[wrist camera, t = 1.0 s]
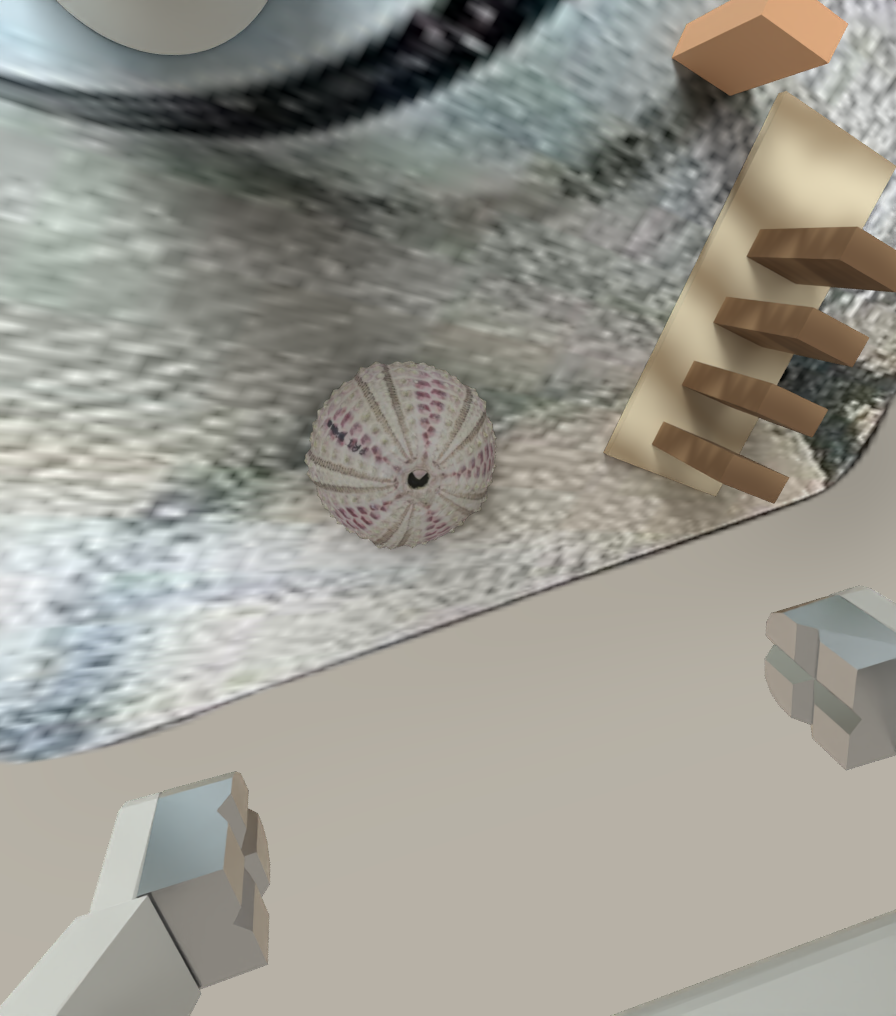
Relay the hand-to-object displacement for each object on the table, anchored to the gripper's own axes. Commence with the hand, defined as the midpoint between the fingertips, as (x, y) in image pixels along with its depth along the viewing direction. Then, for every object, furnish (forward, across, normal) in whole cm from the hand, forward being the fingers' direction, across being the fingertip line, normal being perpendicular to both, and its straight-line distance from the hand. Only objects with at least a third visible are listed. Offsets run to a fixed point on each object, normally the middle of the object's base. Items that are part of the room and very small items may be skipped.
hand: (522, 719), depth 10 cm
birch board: (+39, -30, +5) cm, 49 cm away
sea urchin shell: (+39, -2, +9) cm, 40 cm away
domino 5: (+38, -25, +14) cm, 47 cm away
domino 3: (+38, -30, +5) cm, 49 cm away
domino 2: (+38, -33, +1) cm, 50 cm away
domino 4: (+38, -27, +9) cm, 48 cm away
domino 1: (+39, -28, -12) cm, 50 cm away
